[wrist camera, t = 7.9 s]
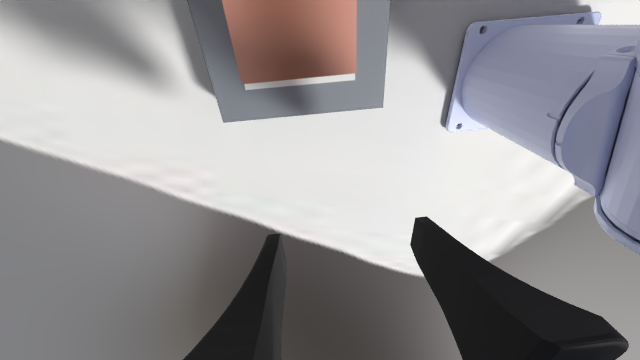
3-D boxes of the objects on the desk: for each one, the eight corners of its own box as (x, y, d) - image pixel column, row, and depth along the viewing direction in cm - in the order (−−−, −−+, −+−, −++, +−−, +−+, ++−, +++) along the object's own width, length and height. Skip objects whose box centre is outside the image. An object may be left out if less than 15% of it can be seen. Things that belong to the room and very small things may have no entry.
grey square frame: (380, -108, 13) (401, -141, 11) (371, 96, 19) (383, 108, 17) (179, -94, 13) (149, -124, 10) (233, 109, 19) (222, 123, 16)
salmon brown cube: (336, -52, 12) (356, -92, 8) (339, 59, 15) (356, 73, 11) (235, -43, 12) (202, -80, 8) (257, 67, 15) (241, 84, 11)
